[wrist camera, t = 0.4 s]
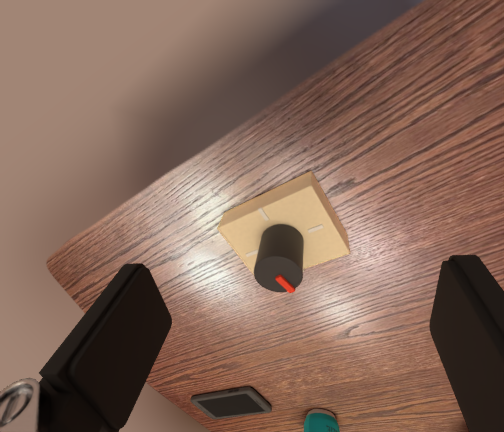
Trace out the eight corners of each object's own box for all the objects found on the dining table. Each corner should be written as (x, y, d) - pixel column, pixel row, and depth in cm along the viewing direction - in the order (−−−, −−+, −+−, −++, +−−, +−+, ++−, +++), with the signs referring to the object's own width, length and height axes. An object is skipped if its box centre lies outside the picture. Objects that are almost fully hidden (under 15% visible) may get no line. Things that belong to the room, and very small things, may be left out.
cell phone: (189, 396, 55) (188, 400, 54) (251, 385, 49) (250, 390, 48) (213, 415, 57) (212, 419, 57) (273, 407, 51) (273, 412, 51)
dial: (252, 237, 28) (242, 272, 24) (285, 216, 26) (280, 251, 22) (279, 263, 29) (274, 301, 25) (312, 245, 27) (312, 283, 23)
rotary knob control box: (310, 169, 26) (310, 184, 24) (348, 235, 30) (351, 255, 27) (223, 211, 31) (215, 228, 28) (264, 265, 34) (260, 285, 31)
